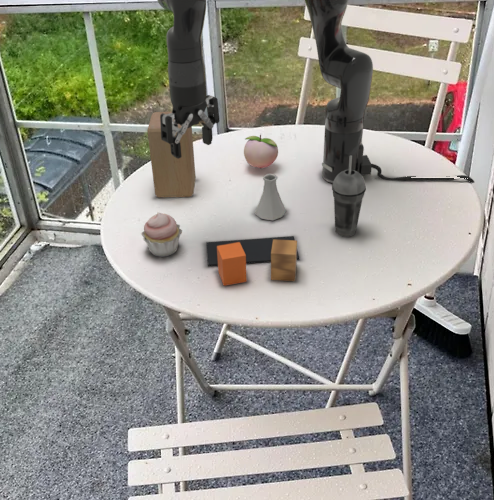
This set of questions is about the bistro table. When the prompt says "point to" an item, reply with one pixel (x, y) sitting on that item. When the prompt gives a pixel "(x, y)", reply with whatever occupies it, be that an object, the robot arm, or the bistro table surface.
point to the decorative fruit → (260, 151)
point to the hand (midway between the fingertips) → (192, 150)
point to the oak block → (283, 260)
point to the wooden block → (171, 162)
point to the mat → (247, 249)
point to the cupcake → (161, 234)
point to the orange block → (231, 263)
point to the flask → (270, 200)
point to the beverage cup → (347, 200)
